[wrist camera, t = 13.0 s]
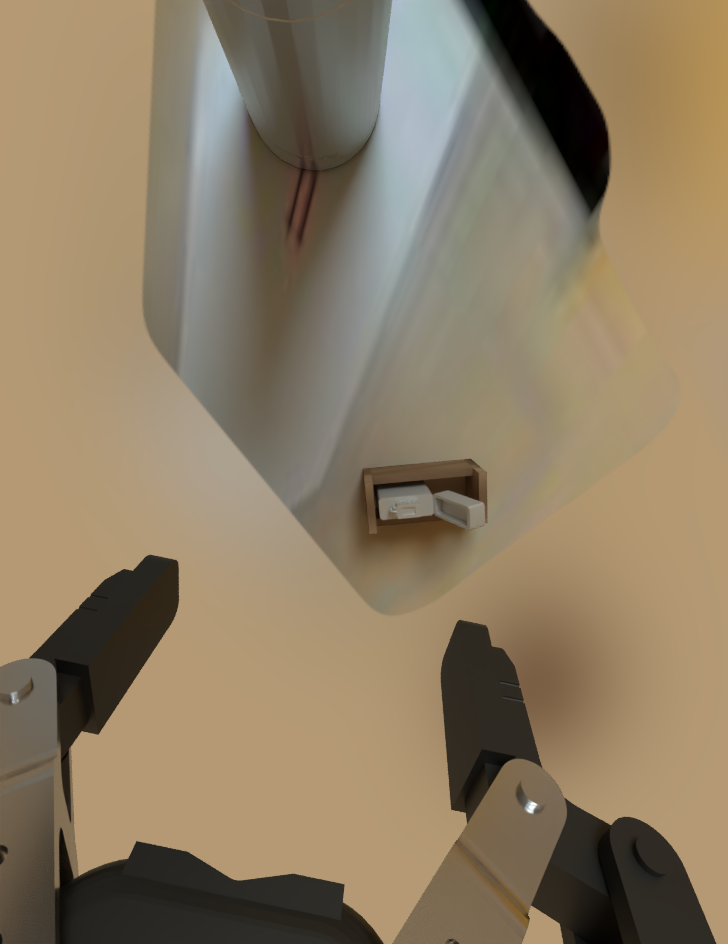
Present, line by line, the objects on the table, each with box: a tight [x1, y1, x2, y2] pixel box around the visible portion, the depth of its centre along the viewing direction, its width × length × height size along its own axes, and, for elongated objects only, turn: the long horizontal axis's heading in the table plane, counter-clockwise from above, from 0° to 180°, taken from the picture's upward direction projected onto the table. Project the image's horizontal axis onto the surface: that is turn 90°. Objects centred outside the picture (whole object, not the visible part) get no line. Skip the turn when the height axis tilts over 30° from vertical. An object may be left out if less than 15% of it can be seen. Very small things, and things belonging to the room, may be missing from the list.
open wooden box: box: [363, 459, 487, 534], centre depth 35 cm, size 4×9×4 cm, turn 95°
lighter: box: [375, 480, 485, 531], centre depth 33 cm, size 7×2×8 cm, turn 95°
